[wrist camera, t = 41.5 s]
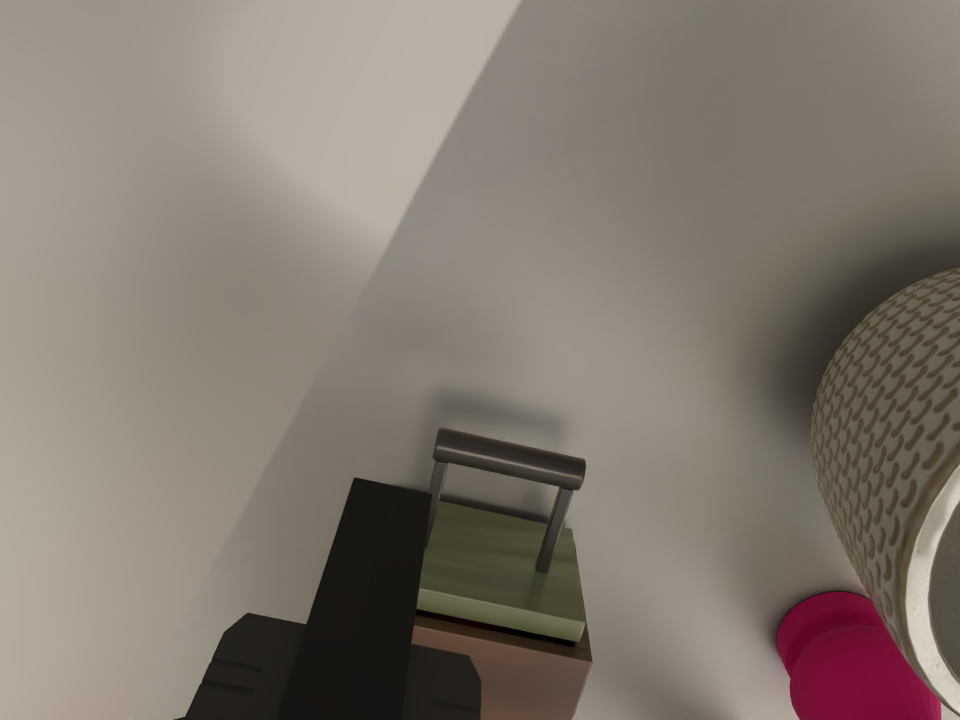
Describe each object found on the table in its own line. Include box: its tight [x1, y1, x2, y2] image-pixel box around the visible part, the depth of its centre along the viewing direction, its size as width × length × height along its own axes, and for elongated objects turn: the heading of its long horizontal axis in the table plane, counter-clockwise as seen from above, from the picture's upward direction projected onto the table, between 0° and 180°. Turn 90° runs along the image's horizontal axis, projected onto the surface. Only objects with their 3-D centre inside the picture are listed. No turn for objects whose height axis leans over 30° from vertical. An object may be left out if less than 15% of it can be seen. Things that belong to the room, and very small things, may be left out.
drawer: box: [415, 428, 586, 643], centre depth 42 cm, size 19×10×8 cm, turn 167°
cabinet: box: [411, 543, 593, 720], centre depth 44 cm, size 14×11×10 cm
